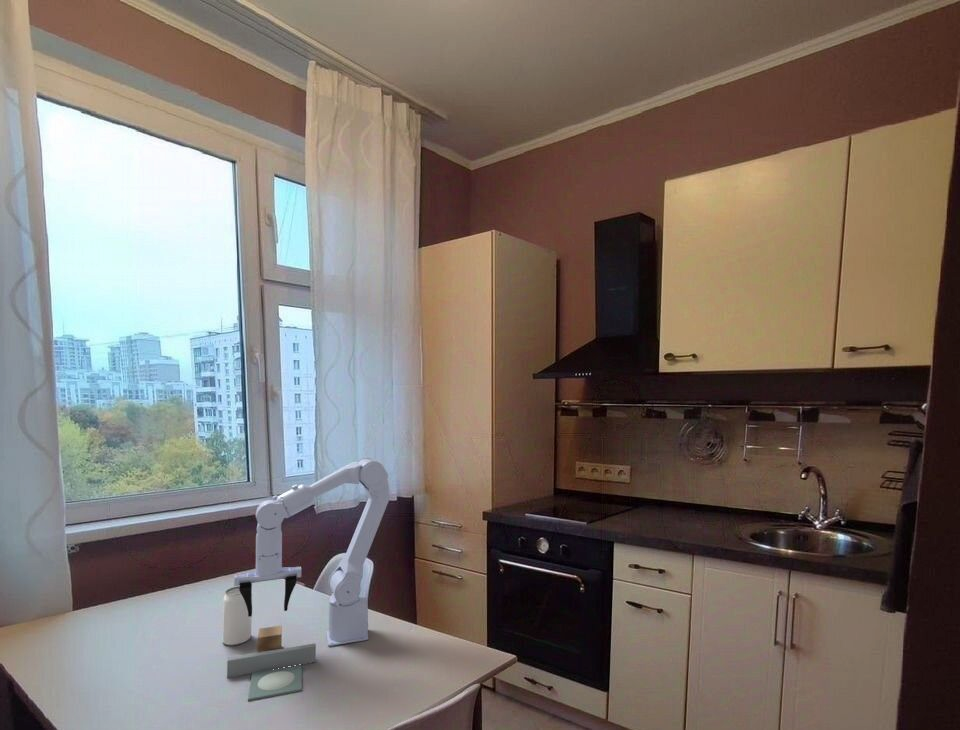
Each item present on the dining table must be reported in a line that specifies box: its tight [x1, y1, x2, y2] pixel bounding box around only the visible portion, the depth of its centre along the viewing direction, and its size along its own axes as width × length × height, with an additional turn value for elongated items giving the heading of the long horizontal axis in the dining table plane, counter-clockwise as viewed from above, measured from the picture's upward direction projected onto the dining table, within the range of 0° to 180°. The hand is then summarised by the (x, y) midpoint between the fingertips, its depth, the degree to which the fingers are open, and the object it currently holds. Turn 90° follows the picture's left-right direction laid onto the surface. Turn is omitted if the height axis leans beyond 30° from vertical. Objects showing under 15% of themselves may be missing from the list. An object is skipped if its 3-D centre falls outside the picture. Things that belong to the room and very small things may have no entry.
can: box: [221, 585, 253, 646], centre depth 125 cm, size 6×6×12 cm
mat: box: [247, 665, 303, 702], centre depth 106 cm, size 10×10×1 cm
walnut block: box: [256, 625, 283, 653], centre depth 118 cm, size 5×5×5 cm
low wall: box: [226, 643, 317, 679], centre depth 112 cm, size 18×2×4 cm, turn 110°
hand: (268, 612), depth 119 cm, fingers open, 7 cm apart
